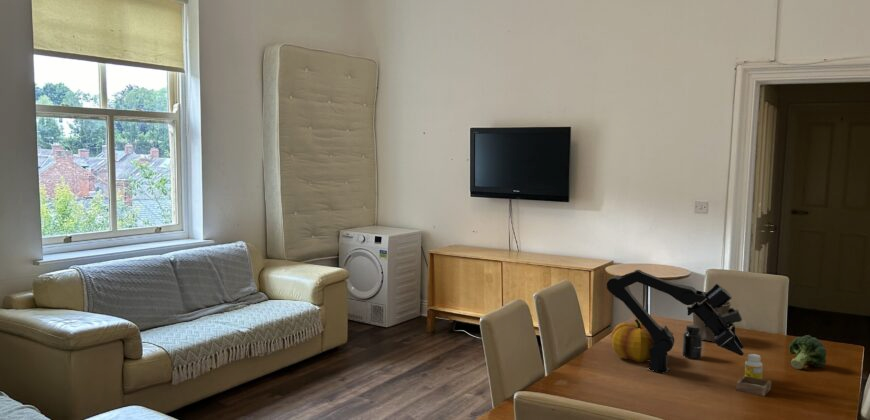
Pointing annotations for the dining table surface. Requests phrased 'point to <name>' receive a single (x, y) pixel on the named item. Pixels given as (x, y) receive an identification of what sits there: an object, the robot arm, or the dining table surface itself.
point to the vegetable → (807, 352)
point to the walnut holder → (753, 385)
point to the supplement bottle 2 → (753, 366)
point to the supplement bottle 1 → (692, 342)
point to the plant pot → (704, 331)
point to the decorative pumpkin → (632, 341)
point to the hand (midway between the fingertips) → (742, 351)
